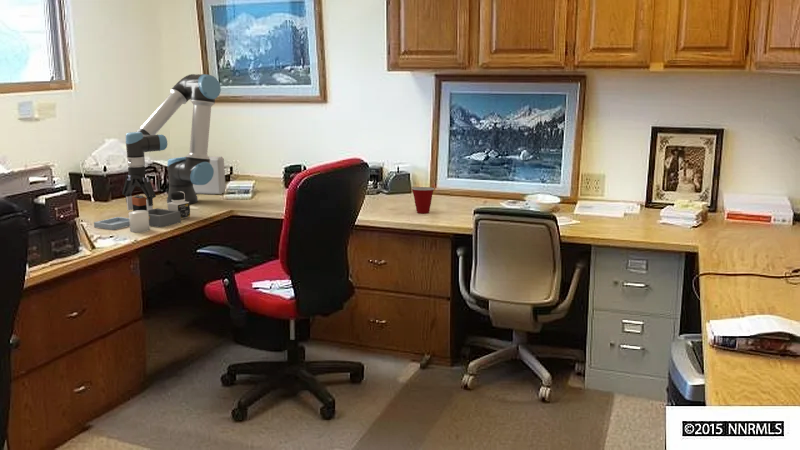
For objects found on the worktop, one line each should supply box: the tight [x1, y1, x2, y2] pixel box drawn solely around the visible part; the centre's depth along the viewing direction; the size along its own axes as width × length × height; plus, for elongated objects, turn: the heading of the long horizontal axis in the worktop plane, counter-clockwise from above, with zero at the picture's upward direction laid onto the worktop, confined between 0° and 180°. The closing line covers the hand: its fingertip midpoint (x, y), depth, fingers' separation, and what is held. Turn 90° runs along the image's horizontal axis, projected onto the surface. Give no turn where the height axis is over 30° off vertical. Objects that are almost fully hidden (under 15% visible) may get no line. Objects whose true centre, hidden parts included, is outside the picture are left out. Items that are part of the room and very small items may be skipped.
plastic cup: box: [411, 186, 435, 215], centre depth 354 cm, size 11×11×12 cm
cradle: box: [147, 207, 182, 228], centre depth 338 cm, size 12×15×5 cm
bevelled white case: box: [193, 155, 227, 195], centre depth 409 cm, size 21×8×20 cm, turn 77°
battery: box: [132, 194, 147, 211], centre depth 353 cm, size 4×7×10 cm, turn 46°
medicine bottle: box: [167, 191, 191, 220], centre depth 349 cm, size 7×7×12 cm
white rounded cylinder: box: [128, 210, 151, 233], centre depth 325 cm, size 8×8×8 cm
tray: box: [93, 216, 130, 231], centre depth 335 cm, size 13×12×2 cm
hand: (140, 211), depth 353 cm, fingers open, 13 cm apart
